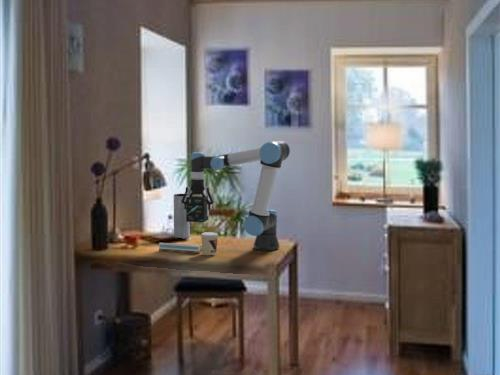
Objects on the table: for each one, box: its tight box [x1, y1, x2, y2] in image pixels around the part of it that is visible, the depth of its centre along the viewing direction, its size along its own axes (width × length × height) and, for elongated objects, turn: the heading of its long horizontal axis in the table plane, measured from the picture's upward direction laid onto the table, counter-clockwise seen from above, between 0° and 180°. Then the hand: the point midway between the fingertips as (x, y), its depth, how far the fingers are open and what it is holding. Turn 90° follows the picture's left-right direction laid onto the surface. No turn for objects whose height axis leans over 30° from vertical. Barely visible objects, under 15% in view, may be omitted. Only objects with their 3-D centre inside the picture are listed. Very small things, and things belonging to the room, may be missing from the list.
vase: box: [173, 193, 191, 240], centre depth 415 cm, size 10×10×27 cm
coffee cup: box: [200, 231, 219, 256], centre depth 371 cm, size 9×9×12 cm
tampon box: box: [186, 194, 210, 223], centre depth 391 cm, size 11×9×15 cm
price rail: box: [158, 242, 200, 251], centre depth 376 cm, size 24×1×3 cm, turn 75°
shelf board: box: [158, 245, 202, 254], centre depth 382 cm, size 24×14×2 cm, turn 75°
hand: (197, 215), depth 391 cm, fingers closed on tampon box, 12 cm apart
